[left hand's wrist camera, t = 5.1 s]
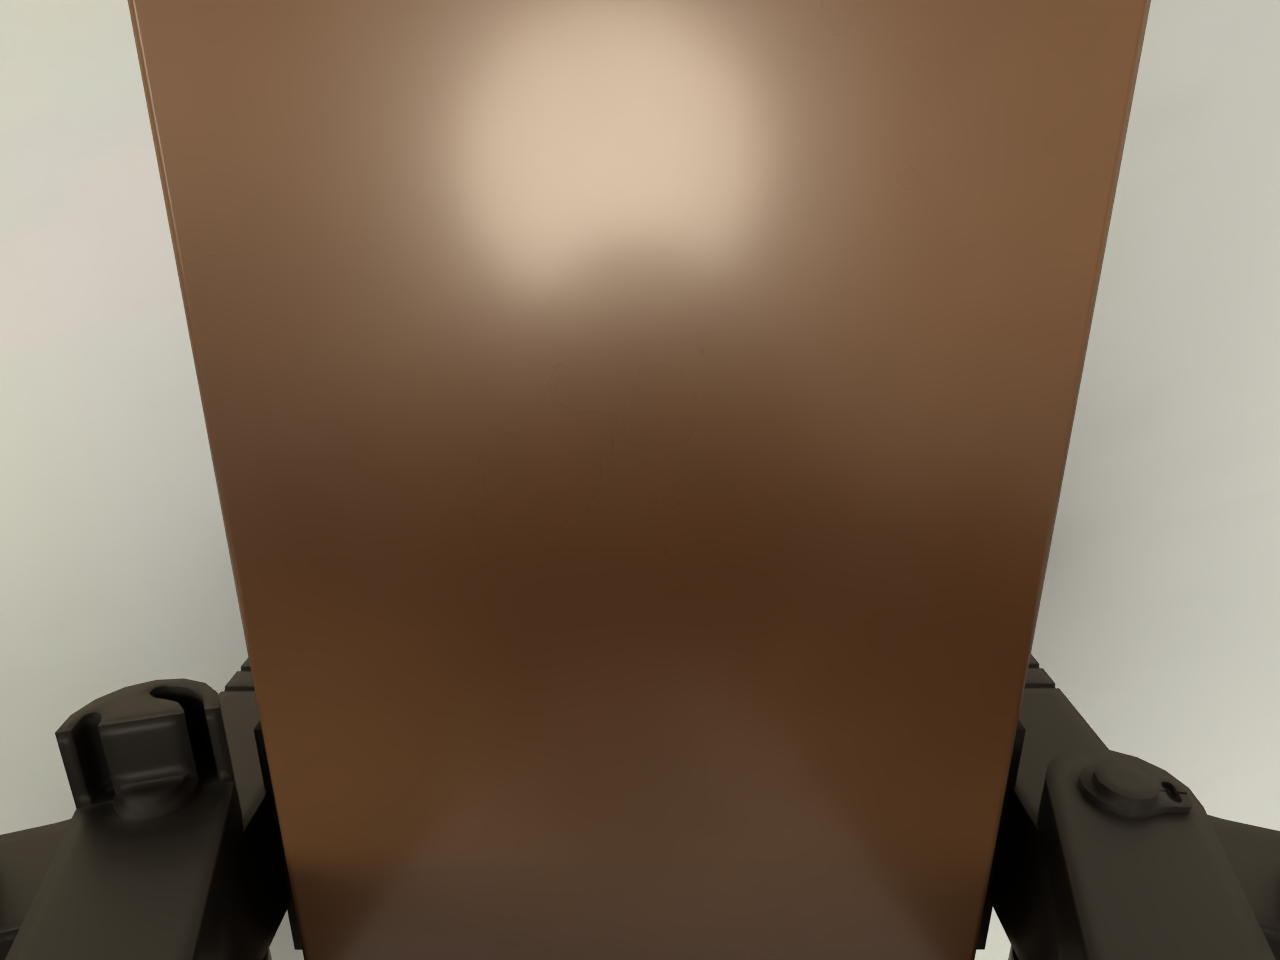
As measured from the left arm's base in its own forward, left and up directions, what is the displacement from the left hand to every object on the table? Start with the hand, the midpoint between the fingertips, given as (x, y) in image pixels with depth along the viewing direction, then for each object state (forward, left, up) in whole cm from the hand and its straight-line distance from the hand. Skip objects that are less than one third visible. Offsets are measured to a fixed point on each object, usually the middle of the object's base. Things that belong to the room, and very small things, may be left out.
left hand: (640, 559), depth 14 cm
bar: (+25, +18, -1) cm, 31 cm away
